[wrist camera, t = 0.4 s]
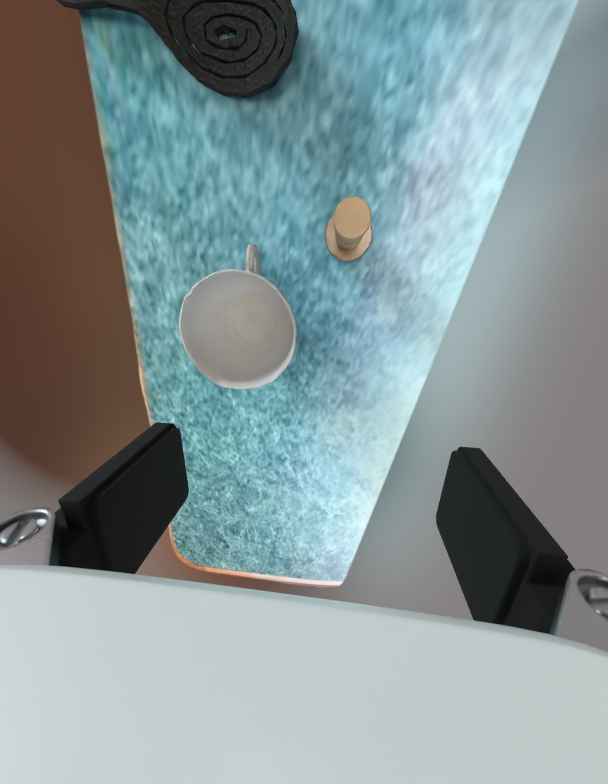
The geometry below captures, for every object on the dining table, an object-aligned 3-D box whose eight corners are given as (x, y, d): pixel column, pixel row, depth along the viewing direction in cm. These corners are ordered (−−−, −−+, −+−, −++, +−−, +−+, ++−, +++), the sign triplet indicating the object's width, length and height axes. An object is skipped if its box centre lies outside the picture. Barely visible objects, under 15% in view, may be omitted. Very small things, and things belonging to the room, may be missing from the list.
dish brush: (327, 217, 33) (318, 180, 20) (369, 216, 32) (389, 176, 19) (326, 262, 34) (318, 255, 22) (367, 261, 34) (383, 253, 21)
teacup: (294, 379, 40) (283, 402, 33) (205, 358, 41) (175, 376, 33) (318, 260, 34) (312, 256, 27) (215, 237, 35) (181, 227, 27)
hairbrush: (15, -120, 24) (306, -42, 23) (57, -71, 27) (313, -1, 26) (24, 19, 27) (280, 94, 26) (61, 48, 31) (288, 115, 30)
